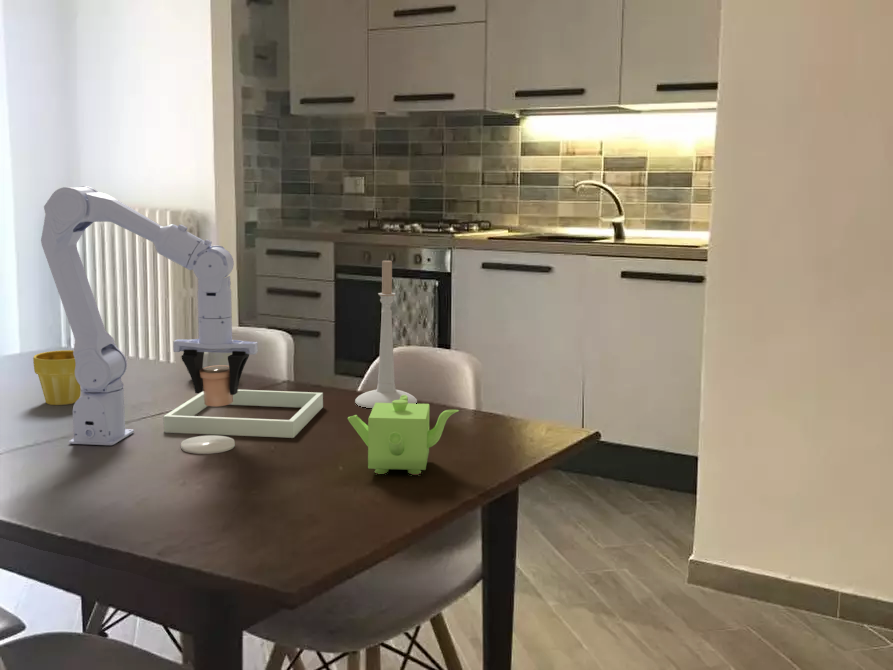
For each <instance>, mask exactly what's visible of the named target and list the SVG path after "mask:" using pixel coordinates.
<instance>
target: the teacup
mask: <svg viewBox="0 0 893 670" xmlns="http://www.w3.org/2000/svg"><path fill="white" fill-rule="evenodd" d="M204 349H205V348H204ZM231 350H232V349H231ZM230 355H232V353H216V352H204V357H203V368H205V367H208V366H215V365H227V366H229V363H228V356H230ZM186 370H187V372H188V374H189V375H190V373H189V371H188V369H187V368H186Z"/></svg>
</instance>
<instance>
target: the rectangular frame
mask: <svg viewBox="0 0 893 670" xmlns="http://www.w3.org/2000/svg"><path fill="white" fill-rule="evenodd" d="M323 398H324V392H317V391H316V392H315V391H314V392H312V391H311V392H310V391H309V392H308V391H286V390H284V391H283V390H263V389H262V390H261V389H260V390H258V389H238V392H237V393H236V394H235V395H233V402H232V403H231V404H228V405H231V406H250V407H251V406H252V407H253V406H255V407H258V406H259V407H281V408H300V409H299V410H298V411H297V412H296V413H295V414H294V415H293V416H292V417H291V418H290V419H272V418H249V417H226V416H225V417H224V416H223V417H222V416H201V415H198V413H200V412H202V411H203V410H205V409H206V408H207V407H208V406H207V405H205V404H204V391H202V392H201V393H199V394H198V393H197V394H196V395H195V396H192V398H190V399H188V400H187V401H186V402H184V403H182V404H181V405H179V406H177V407H176V408H174V409H173V410H171V411H170V412H168V413H166V414H165V415H163V433H167V434H169V433H172V434H173V433H174V434H193V435H195V434H197V435H215V436H239V437H240V436H241V437H244V436H245V437H266V438H289V439H290V438H291V439H293V438H294V439H295V437H296V436H297V435H298V434H299V433H300V432H301V431H302V429H304V427H305V426H307V424H308V423H309V422H310V421H311V420H312V419H313V418H314V417H315V416H316V415H317V414H319V412H320V411H321V410H322V409H323V408H324V399H323ZM228 405H227V406H228ZM197 415H198V416H197Z"/></svg>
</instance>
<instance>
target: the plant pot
mask: <svg viewBox="0 0 893 670" xmlns="http://www.w3.org/2000/svg"><path fill="white" fill-rule="evenodd" d="M73 350H74V349H73ZM73 350H71V349H70V350H69V349H68V350H67V349H66V350H65V349H63V350H61V349H60V350H54V351H53V350H50V351H45V352H44V351H43V352H40V353H37V354H35V355H34V356H33V358H32V359H33V360H32V361H33V369H34V373H35V374H36V375H37V376H38V379H39V382H40V386H41V390H42V394H43V397H44V400H45V403H46V404H47V405H51V406H66V405H74V404H75V402H76V401H77V400H78V399H79V398H80V395H81V389H80V384H79V383H78V382H77V380H76V377H75V366H76V362H75V358H74V355H73Z"/></svg>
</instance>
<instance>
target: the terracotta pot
mask: <svg viewBox="0 0 893 670" xmlns="http://www.w3.org/2000/svg"><path fill="white" fill-rule="evenodd" d="M200 377H201V378H202V379H203V391H204V404H205V405H207V407H225V406H228V404H231V403H232V402H233V395H230V370H229V366H227V365H215V366H208V367H205V368H202V369H200ZM203 391H202V392H203Z"/></svg>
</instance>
